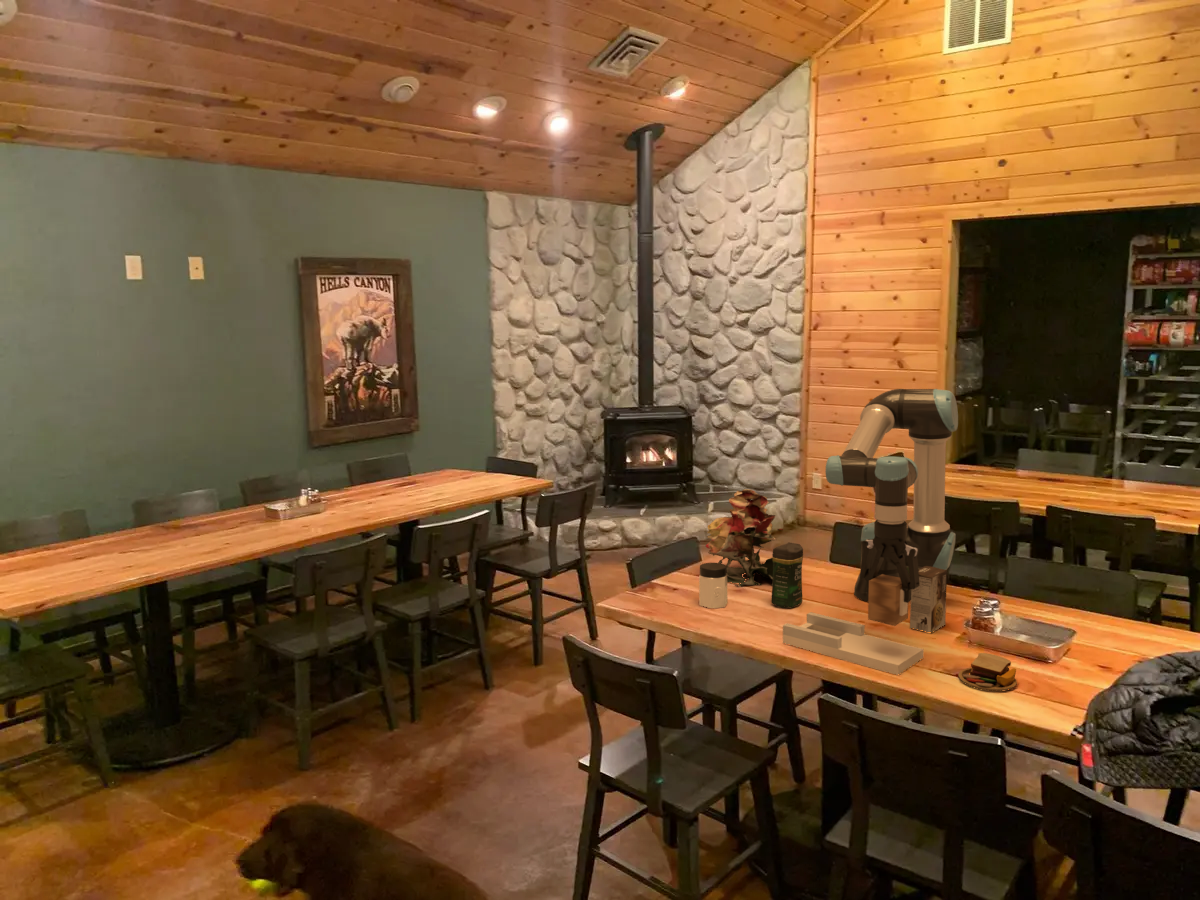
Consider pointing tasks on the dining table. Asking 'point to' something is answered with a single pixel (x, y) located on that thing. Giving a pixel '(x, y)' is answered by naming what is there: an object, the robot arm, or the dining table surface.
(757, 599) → the dining table surface
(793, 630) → the slotted wooden base
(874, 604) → the walnut block
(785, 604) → the coffee jar
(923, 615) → the coffee box
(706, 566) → the jar
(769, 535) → the rose bouquet
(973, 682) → the toy sandwich meal
